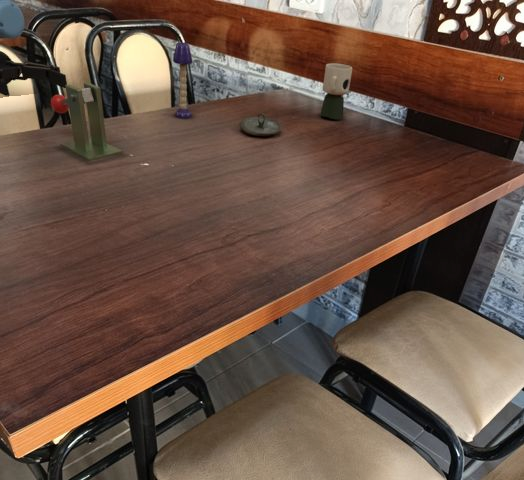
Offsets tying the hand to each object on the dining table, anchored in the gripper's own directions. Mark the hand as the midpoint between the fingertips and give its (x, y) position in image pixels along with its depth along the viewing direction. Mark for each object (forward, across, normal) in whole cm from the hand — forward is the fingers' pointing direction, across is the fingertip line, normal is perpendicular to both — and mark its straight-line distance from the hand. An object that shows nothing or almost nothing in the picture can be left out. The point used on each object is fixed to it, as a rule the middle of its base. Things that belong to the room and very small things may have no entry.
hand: (36, 85), depth 111 cm
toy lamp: (+10, -33, -9) cm, 36 cm away
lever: (+15, 0, -2) cm, 15 cm away
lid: (+30, -41, -9) cm, 52 cm away
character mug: (+32, -68, -10) cm, 76 cm away
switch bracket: (+20, 0, -9) cm, 21 cm away
